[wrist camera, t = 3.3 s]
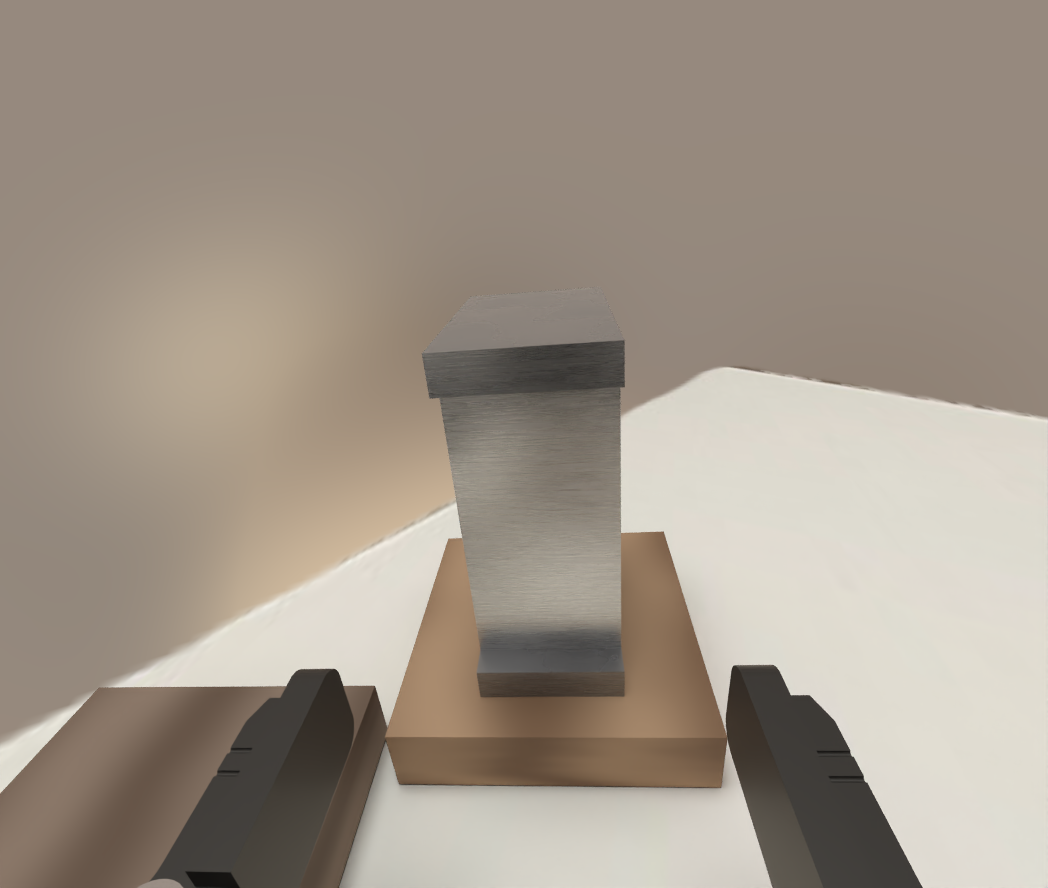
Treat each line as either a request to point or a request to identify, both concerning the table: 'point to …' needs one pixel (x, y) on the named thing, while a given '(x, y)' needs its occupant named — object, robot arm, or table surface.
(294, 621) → the table surface
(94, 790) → the stand
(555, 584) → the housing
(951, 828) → the table surface
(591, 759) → the stand
